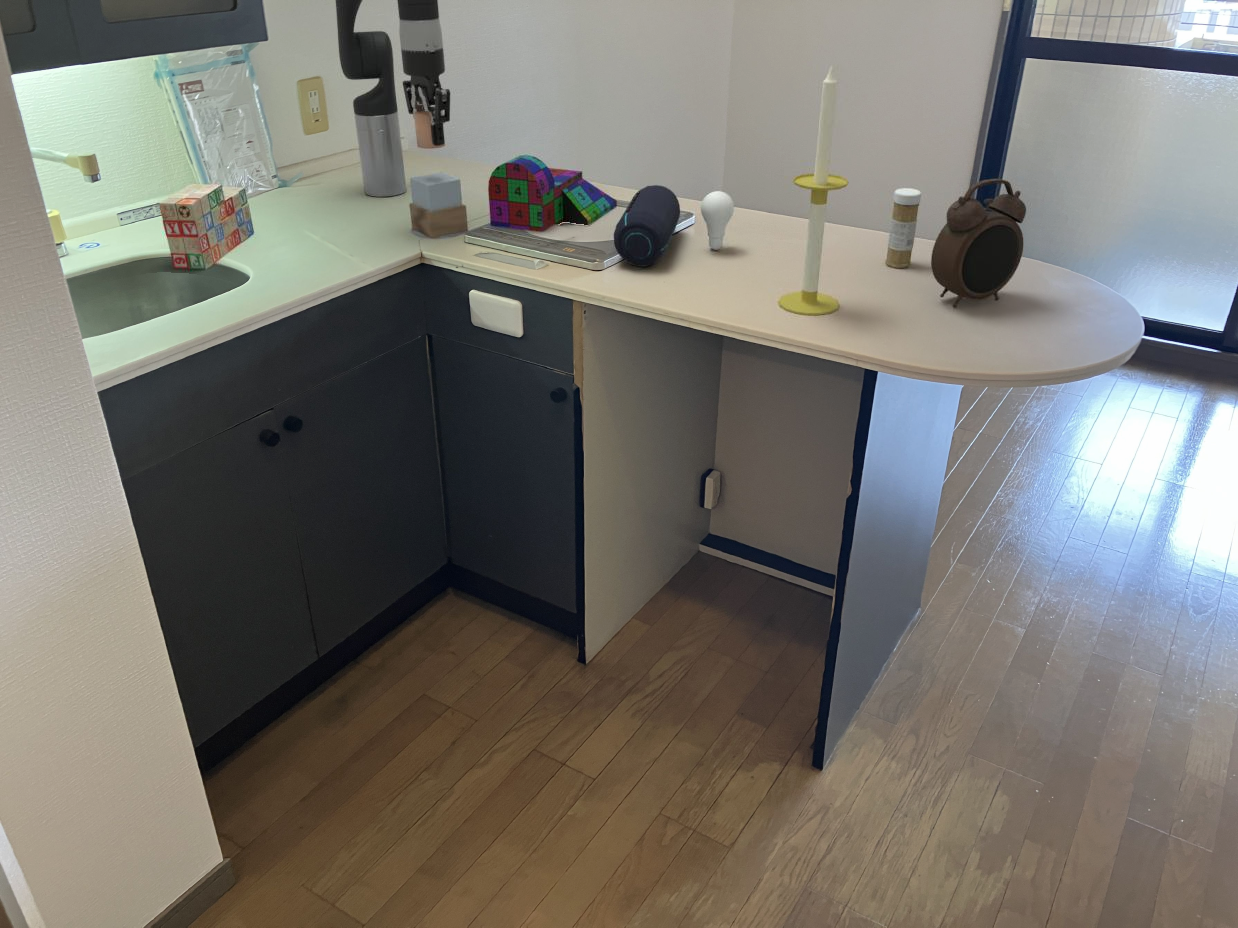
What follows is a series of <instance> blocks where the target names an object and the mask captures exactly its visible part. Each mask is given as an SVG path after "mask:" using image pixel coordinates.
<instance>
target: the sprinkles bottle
mask: <svg viewBox="0 0 1238 928" xmlns="http://www.w3.org/2000/svg"><path fill="white" fill-rule="evenodd" d="M921 198H922V192H921V191H920V190H918V189H916V188H910V187H909V188H907V187H906V188H905V187H903V188H898V189H895V191H894V193H893V199H892V200H893V209H892V215H891V221H890V222H891V223H890V229H889V234H888V242H887V252H886V259H885V264H886V265H887V266H889V267H891V268H894V269H896V268H897V269H905V268H908V267H910V266H911V264H912V263H911V262H912V261H911V260H912V259H911V258H912V252H913V247H914V242H915V236H916V228H917V222H918V213H919V212H918V211H919V206H920V203H921Z"/></svg>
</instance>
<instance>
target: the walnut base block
mask: <svg viewBox="0 0 1238 928" xmlns="http://www.w3.org/2000/svg"><path fill="white" fill-rule="evenodd" d="M408 205H409V212H410V213H409V214H410V223H411V230H412V229H414V230H416V231H418V232H420V233H422V234H424V235H426V236H428V237H430V238H432V240H434V239H433V238H437V237H441V236H446V235H450V234H455V233H459V232H464V231H466V232H468V231H469V227H468V214H467V205H466V204H463V203H462V205H461V206H456V207H452V208H447V209H442V210H437V211H433V212H430V211H428V210H425V209H423V208H421V207H419V206H416V205H414V204H413V202H412V203H411V202H410V203H409V204H408Z"/></svg>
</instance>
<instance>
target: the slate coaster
mask: <svg viewBox="0 0 1238 928" xmlns="http://www.w3.org/2000/svg"><path fill="white" fill-rule="evenodd" d="M465 233H467V231H464V232H459V233H455V234H450V235H446V236H441V237H437V238H433V239H432V238H430V237H428V236H426V235H424V234H422V233H420V232H418V231H416V230H414V229H412V228H411V234H413V236H416V237H418V238H421V239H432V240H436V239H437V240H438V239H449V238H455V237H459V236H461V235H464V234H465Z"/></svg>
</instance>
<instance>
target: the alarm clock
mask: <svg viewBox="0 0 1238 928" xmlns="http://www.w3.org/2000/svg"><path fill="white" fill-rule="evenodd" d="M993 184H1002V185H1004V187H1005V191H1006V193H1003V194H999V195H997V196H996V197H994V198H986V199H984V200H983V204H986V206H983V204H982V203H981V202H980V201H979V200H978V199H976V198H974V197H971V196H973V194H974V192H975V191H976V190H977V189H979V188H981V187H983V186H988V185H993ZM1020 196H1021V191H1020V190H1017V191H1015V192H1014V191H1013V187H1012V184H1011V183H1010V182H1009V181H1008V180H1006V179H1000V178H990V179H984V180H980V181H977V182H975V183H974V184H972V185H971V186H969V188H968V189H967V191H966V192H965V194H964V196H958V200H955V201H954V202H953V203H952V204H950V206H949V207H948V209H947V212H946V223H945V225H944V226H943V227H942V229H941V230H940V231H939V233H938V235H937V237H936V238H935V239H936V240H935V242H934V245H933V247H932V252H931V260H930V264H931V272H932V274H933V277H934V279H935V280H936V282H937V283H938V285H940V286H941V287H943V288H944V289H943V291H942V293H941V294H940V295H939V297H940V298H944V297H945V295H946V294H947V292H948V291H949V292H950V293H952V294H954V295H957V297H956V299H955V302H954V304H953V303H952V307H953V308H954V309H955V308H957V307H958V304H960V302H961V301H962V300H963V298H965V299H969V300H974V301H980V300H984V299H988V298H990V297H992V296H994V300H995V301H999V300H1000V297H999V295H998V292H999V291H1001V289H1003V288H1004V287H1005V286H1006V285H1007V284H1008V283H1009V282H1010V280H1011V279H1012V278H1013V276H1014V275H1015V273H1016V271H1017V270H1018V267H1019V265H1020V262H1021V259H1022V255H1023V252H1024V235H1023V231H1022V229H1021V227H1020V225H1019V224H1022V223H1023V222H1024V219H1025V218H1026V213H1027V206H1026V204H1025V202H1024V201H1023V200H1022V199H1020ZM1018 223H1019V224H1018Z"/></svg>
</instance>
